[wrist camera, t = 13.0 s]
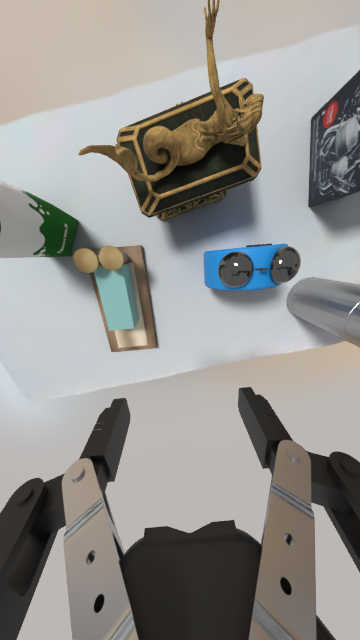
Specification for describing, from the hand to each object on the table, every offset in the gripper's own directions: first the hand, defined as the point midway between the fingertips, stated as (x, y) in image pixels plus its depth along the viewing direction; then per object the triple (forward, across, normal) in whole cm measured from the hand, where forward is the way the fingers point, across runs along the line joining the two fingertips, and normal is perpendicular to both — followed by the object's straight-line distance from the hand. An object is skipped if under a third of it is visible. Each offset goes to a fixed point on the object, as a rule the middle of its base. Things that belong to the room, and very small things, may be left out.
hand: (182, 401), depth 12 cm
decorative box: (+28, -2, -21) cm, 35 cm away
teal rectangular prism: (+27, +11, -3) cm, 29 cm away
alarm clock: (+28, -12, -7) cm, 32 cm away
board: (+28, +12, 0) cm, 30 cm away
